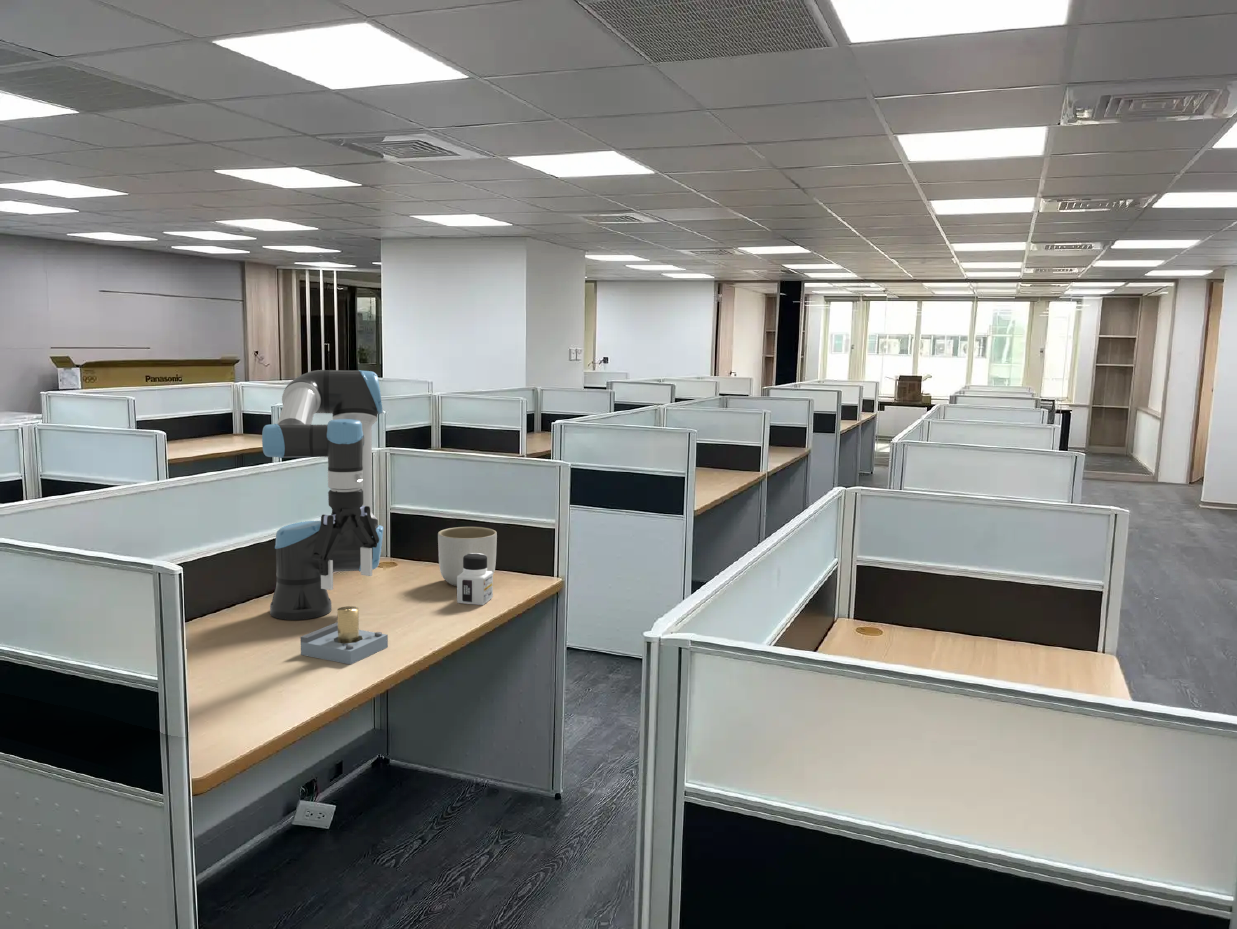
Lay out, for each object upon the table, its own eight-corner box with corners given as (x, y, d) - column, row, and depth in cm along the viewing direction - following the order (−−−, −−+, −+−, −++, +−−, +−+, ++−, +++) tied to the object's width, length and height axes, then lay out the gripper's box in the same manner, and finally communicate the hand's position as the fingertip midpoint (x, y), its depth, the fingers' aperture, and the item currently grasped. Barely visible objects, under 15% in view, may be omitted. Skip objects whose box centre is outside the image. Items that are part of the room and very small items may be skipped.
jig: (300, 654, 208) (300, 636, 207) (339, 638, 220) (339, 621, 219) (350, 664, 203) (350, 646, 202) (387, 647, 214) (387, 629, 214)
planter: (508, 581, 276) (508, 531, 274) (471, 593, 261) (471, 541, 259) (463, 573, 284) (463, 524, 282) (426, 584, 270) (425, 533, 268)
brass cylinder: (333, 653, 210) (332, 610, 208) (347, 647, 214) (346, 605, 213) (350, 656, 208) (349, 613, 207) (363, 650, 212) (362, 607, 211)
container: (483, 605, 250) (483, 558, 248) (456, 603, 251) (456, 556, 250) (493, 598, 257) (493, 552, 256) (466, 596, 259) (466, 550, 257)
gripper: (320, 498, 193) (322, 597, 196) (394, 482, 216) (394, 571, 219) (292, 495, 196) (295, 593, 199) (367, 480, 219) (369, 567, 222)
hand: (347, 582), depth 209 cm, fingers open, 13 cm apart
